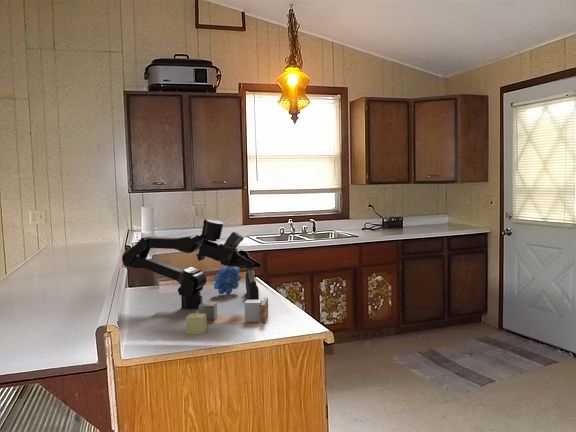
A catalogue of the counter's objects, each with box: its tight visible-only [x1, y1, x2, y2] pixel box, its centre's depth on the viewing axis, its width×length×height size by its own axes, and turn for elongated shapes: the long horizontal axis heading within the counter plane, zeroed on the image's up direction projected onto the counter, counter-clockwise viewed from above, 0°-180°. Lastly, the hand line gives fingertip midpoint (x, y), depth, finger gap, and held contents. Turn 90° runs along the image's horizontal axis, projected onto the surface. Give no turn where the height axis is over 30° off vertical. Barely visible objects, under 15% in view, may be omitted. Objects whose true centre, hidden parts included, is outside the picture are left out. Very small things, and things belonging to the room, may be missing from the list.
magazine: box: [245, 268, 260, 300], centre depth 177 cm, size 17×3×30 cm
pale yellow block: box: [185, 313, 208, 335], centre depth 140 cm, size 5×4×6 cm
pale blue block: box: [244, 299, 263, 321], centre depth 151 cm, size 5×4×6 cm
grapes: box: [213, 266, 242, 295], centre depth 191 cm, size 12×7×12 cm, turn 114°
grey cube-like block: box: [198, 302, 218, 321], centre depth 153 cm, size 5×4×5 cm
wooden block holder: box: [206, 297, 269, 325], centre depth 152 cm, size 22×9×7 cm, turn 85°
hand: (257, 265), depth 159 cm, fingers open, 9 cm apart
